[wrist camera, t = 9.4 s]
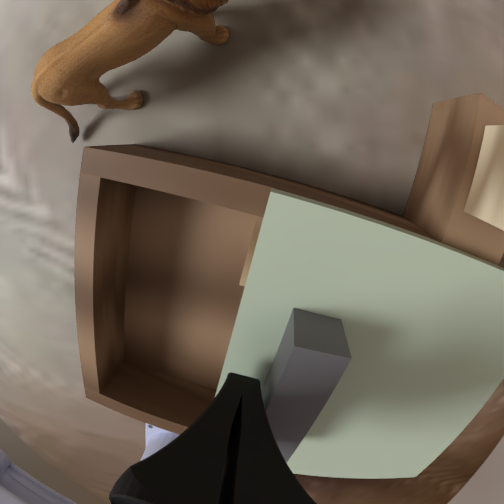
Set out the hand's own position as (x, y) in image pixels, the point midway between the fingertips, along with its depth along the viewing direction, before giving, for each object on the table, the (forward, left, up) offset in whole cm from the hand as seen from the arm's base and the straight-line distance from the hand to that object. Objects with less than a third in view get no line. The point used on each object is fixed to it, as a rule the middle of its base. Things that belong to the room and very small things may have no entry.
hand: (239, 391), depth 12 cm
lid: (0, -7, -2) cm, 7 cm away
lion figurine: (+14, +9, -8) cm, 19 cm away
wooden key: (+12, -9, -2) cm, 15 cm away
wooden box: (+3, -1, -7) cm, 8 cm away
